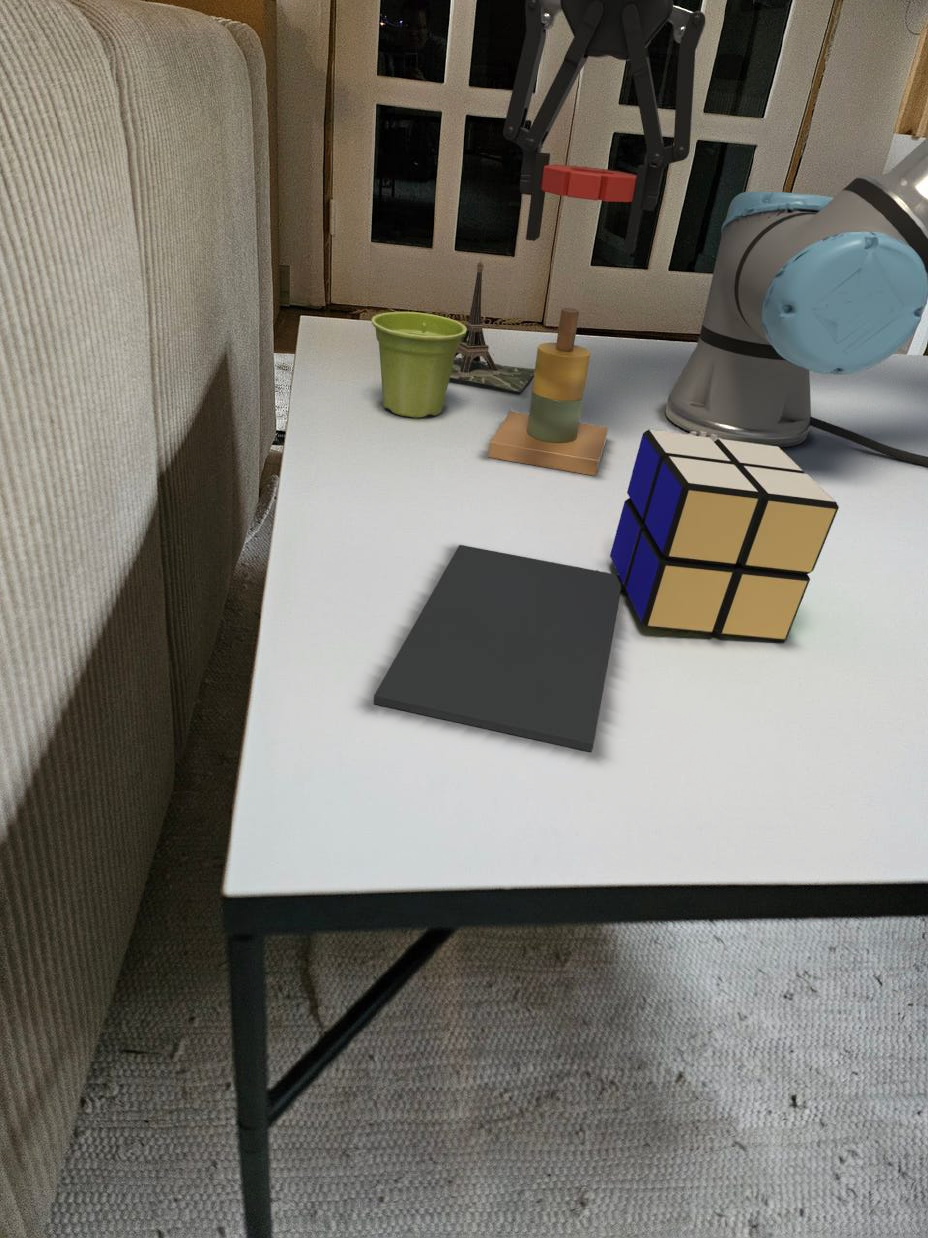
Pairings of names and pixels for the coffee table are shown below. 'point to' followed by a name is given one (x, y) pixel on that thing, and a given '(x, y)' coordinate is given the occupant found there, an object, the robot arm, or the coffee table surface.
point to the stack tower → (554, 411)
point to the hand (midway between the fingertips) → (580, 244)
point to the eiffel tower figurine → (484, 353)
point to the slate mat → (510, 648)
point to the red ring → (588, 183)
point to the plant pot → (416, 360)
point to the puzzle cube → (719, 536)
